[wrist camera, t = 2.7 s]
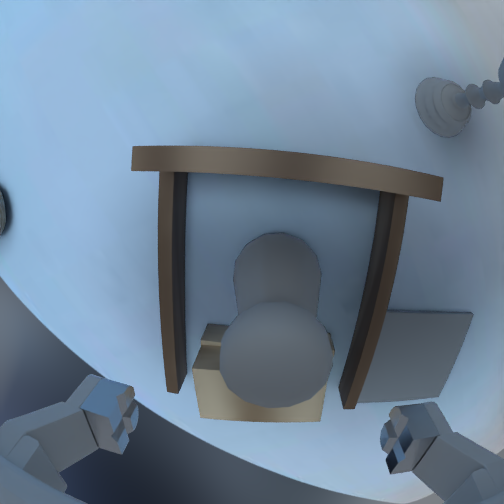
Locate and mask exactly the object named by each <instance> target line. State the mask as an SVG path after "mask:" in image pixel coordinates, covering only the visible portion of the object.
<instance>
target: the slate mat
mask: <svg viewBox="0 0 504 504" xmlns="http://www.w3.org/2000/svg"><path fill="white" fill-rule="evenodd" d="M472 317H473V313H472V312H425V311H397V310H387V312H386V315H385V319H384V323H383V326H382V330H381V333H380V337H379V340H378V343H377V346H376V350H375V353H374V356H373V359H372V362H371V365H370V368H369V371H368V374H367V377H366V380H365V382H364V385H363V388H362V391H361V393H360V396H359V398H358V401H357V403H369V402H390V401H404V400H415V399H425V398H434V397H439V395H440V393H441V391H442V389H443V387H444V385H445V383H446V381H447V378H448V376H449V374H450V372H451V370H452V368H453V365H454V363H455V361H456V359H457V356H458V354H459V352H460V349H461V347H462V344H463V342H464V339H465V336H466V334H467V331H468V329H469V326H470V323H471V320H472Z"/></svg>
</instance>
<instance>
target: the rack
mask: <svg viewBox="0 0 504 504" xmlns="http://www.w3.org/2000/svg"><path fill="white" fill-rule="evenodd" d="M131 171H160V173H159V199H158V276H159V301H160V319H161V334H162V347H163V358H164V368H165V378H166V387H167V392H171V393H176V394H178V393H179V391H180V389H181V386H182V384H183V382H184V379H185V377H186V375H187V363H186V338H185V219H186V193H187V174H188V172H199V173H219V174H235V175H249V176H262V177H274V178H284V179H294V180H304V181H313V182H321V183H329V184H337V185H345V186H352V187H359V188H366V189H372V190H379V191H380V197H379V205H378V213H377V220H376V227H375V233H374V240H373V246H372V251H371V257H370V263H369V268H368V273H367V278H366V283H365V288H364V293H363V297H362V302H361V306H360V310H359V315H358V319H357V323H356V327H355V331H354V335H353V339H352V342H351V346H350V350H349V353H348V357H347V361H346V364H345V367H344V371H343V374H342V377H341V381H340V384H339V387H338V388H339V392H340V396H341V401H342V405H343V409H355V406H356V404H357V401H358V398H359V396H360V393H361V391H362V388H363V385H364V382H365V380H366V377H367V374H368V371H369V368H370V365H371V362H372V359H373V356H374V353H375V350H376V346H377V343H378V340H379V337H380V333H381V330H382V326H383V323H384V319H385V315H386V312H387V308H388V304H389V300H390V296H391V292H392V288H393V283H394V279H395V274H396V270H397V265H398V260H399V255H400V250H401V244H402V239H403V233H404V227H405V220H406V214H407V207H408V199H409V196H414V197H419V198H424V199H430V200H435V201H440V202H441V195H442V187H443V177H439V176H434V175H430V174H426V173H421V172H417V171H412V170H407V169H402V168H397V167H392V166H387V165H381V164H376V163H370V162H364V161H358V160H351V159H345V158H338V157H331V156H323V155H315V154H307V153H298V152H288V151H277V150H265V149H252V148H235V147H214V146H133V148H132V166H131Z"/></svg>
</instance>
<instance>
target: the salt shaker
mask: <svg viewBox="0 0 504 504" xmlns="http://www.w3.org/2000/svg"><path fill="white" fill-rule="evenodd" d="M233 281H234V288H235V294H236V301H237V308H238V316H237V317H236V318H235V320H234V321H233V322H232V324H231V325H230V326H229V328H228V329H227V330H226V331H225V333H224V336H223V338H222V340H221V350H220V373H221V375H222V377H223V379H224V381H225V383H226V385H227V387H228V389H229V390H231V391H232V392H233V393H235V394H236V395H237V396H238V397H240V398H241V399H242V400H244V401H245V402H249V403H252V404H255V405H258V406H262V407H265V408H281V407H291V406H293V405H296V404H299V403H301V402H304V401H306V400H309V399H311V398H312V397H313V396H314V395H315V394H316V393H317V392H318V391H319V390H320V389H321V388H322V387H323V386H324V385H326V382H327V380H328V377H329V374H330V371H331V369H332V366H333V353H332V349H331V345H330V341H329V338H328V334H327V332H326V329H325V327H324V326H323V325H322V324H321V323H320V322H319V320H318V319H317V318H316V316H317V308H318V300H319V291H320V282H321V270H320V267H319V263H318V260H317V256H316V255H315V253H314V252H313V251H312V250H311V249H310V248H309V247H308V246H307V244H306V243H305V242H304V241H303V240H301V239H298V238H296V237H293V236H291V235H288V234H286V233H274V234H264V235H262V236H260V237H259V238H257V239H255V240H253V241H252V242H250V243H248V244H247V245H246V246H245V248H244V249H243V250H242V252H241V253H240V255H239V256H238V258H237V259H236V261H235V268H234V277H233Z"/></svg>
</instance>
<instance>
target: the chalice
mask: <svg viewBox="0 0 504 504" xmlns="http://www.w3.org/2000/svg"><path fill="white" fill-rule="evenodd" d="M498 76H499V81H500V82H492V81H491V80H485V81H484V82H483V85H482V87H481V88H479V87H478V86H476V85H474V84H469V85H468V86H467V87H466V92H465V91H464V90H463V89H462V88H461V87H460V86H459V85H458V84H456V83H455V82H453V81H449V80H445V79H441V78H436V77H431V78H426V79H425V80H423V81H422V82H421V83H420V84H419V86H418V88H417V90H416V96H415V100H416V108H417V110H418V113H419V115H420V118H421V119H422V121H423V122H424V124H425V125H426V126H427V127H428V128H429V129H430V130H431V131H432V132H433V133H435V134H437V135H439V136H441V137H453V136H456V135H457V134H458V133H459V132H461V131H462V129H463V127H465V125H466V124H467V123H468V121H469V119H470V117H471V105H472V106H473V107H475V108H477V109H482V108H483V107H484V105H485V101H490V102H491V103H493V104H498V103H499V102H500V100H501V98H503V97H504V58H503V60H502V63H501V65H500V67H499V71H498Z"/></svg>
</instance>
